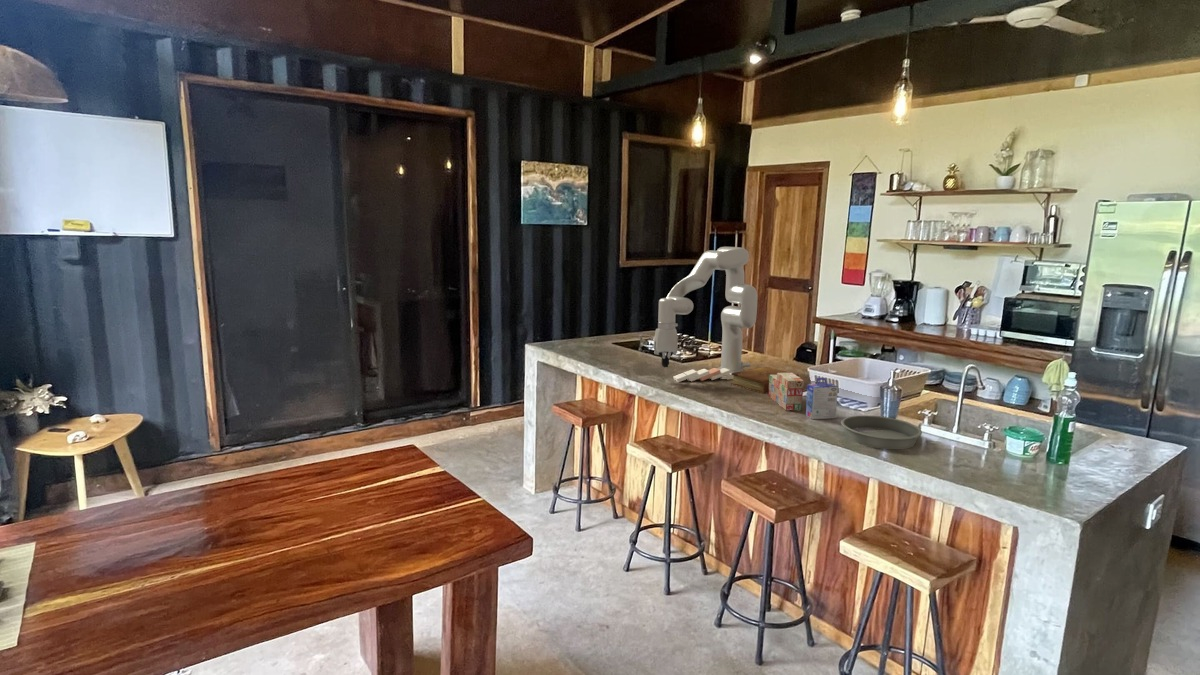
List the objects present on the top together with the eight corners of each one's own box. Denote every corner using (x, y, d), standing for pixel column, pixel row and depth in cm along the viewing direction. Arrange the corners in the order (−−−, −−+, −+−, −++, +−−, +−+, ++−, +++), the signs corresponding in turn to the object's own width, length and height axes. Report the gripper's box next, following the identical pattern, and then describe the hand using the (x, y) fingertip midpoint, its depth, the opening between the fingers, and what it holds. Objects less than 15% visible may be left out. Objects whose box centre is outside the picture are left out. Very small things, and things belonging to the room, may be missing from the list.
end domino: (717, 377, 291) (736, 376, 294) (722, 380, 287) (741, 378, 290) (717, 374, 291) (736, 372, 294) (722, 376, 286) (741, 375, 289)
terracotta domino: (696, 378, 288) (715, 370, 291) (701, 381, 284) (720, 373, 286) (695, 375, 288) (714, 367, 290) (700, 377, 283) (719, 369, 286)
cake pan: (933, 440, 208) (935, 427, 208) (898, 457, 193) (899, 443, 192) (863, 422, 227) (864, 410, 226) (826, 436, 212) (827, 423, 211)
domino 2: (706, 377, 290) (725, 370, 293) (712, 380, 285) (730, 373, 288) (705, 374, 289) (724, 367, 292) (711, 377, 285) (730, 369, 288)
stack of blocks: (767, 396, 260) (769, 367, 258) (782, 396, 261) (784, 367, 259) (785, 411, 239) (787, 380, 237) (801, 411, 240) (804, 380, 238)
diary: (763, 395, 264) (764, 381, 263) (730, 385, 279) (731, 372, 278) (798, 386, 277) (799, 374, 276) (765, 378, 292) (766, 366, 291)
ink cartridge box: (828, 414, 236) (831, 376, 233) (836, 418, 231) (839, 380, 228) (804, 415, 234) (807, 377, 232) (811, 419, 229) (814, 381, 226)
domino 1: (685, 379, 287) (705, 371, 289) (690, 381, 282) (709, 374, 284) (684, 376, 287) (704, 368, 289) (689, 378, 282) (708, 370, 284)
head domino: (673, 379, 286) (693, 372, 288) (677, 382, 281) (698, 375, 283) (673, 376, 286) (692, 369, 287) (677, 379, 281) (697, 371, 283)
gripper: (679, 324, 283) (677, 364, 286) (647, 325, 279) (646, 365, 283) (685, 327, 276) (683, 367, 279) (653, 327, 272) (652, 369, 275)
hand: (665, 366), depth 281 cm, fingers closed
